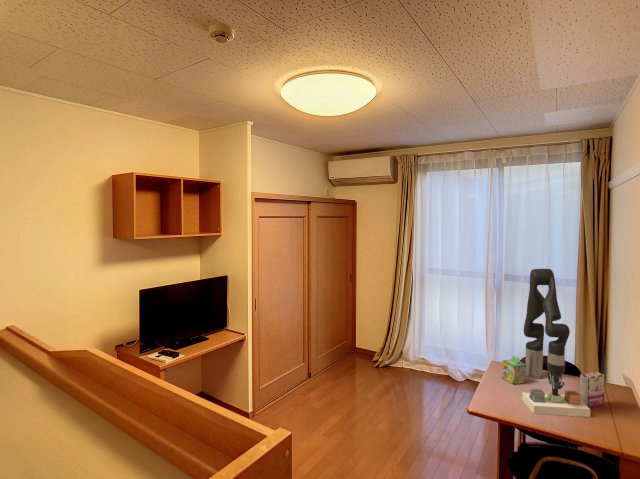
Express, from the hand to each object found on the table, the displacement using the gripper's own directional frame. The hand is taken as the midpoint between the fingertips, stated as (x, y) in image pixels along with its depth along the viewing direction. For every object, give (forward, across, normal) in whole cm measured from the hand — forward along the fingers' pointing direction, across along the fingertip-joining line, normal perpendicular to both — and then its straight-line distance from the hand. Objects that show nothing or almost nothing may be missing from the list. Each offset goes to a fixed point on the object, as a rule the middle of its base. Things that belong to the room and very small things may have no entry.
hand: (554, 394), depth 187 cm
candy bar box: (+7, -6, +21) cm, 23 cm away
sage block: (+6, 0, 0) cm, 6 cm away
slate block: (+4, 0, -8) cm, 10 cm away
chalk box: (+7, -31, -8) cm, 33 cm away
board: (+7, 0, 0) cm, 7 cm away
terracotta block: (+4, 0, +9) cm, 10 cm away
